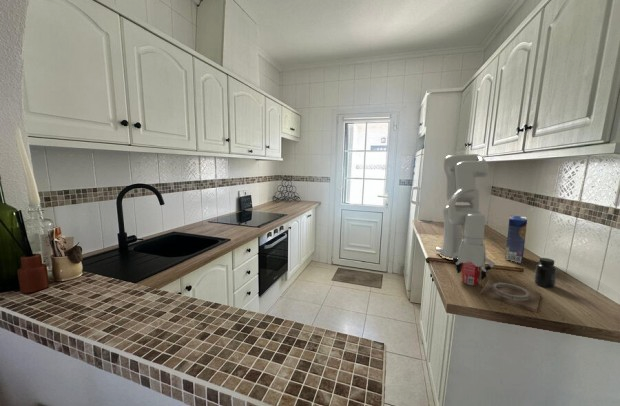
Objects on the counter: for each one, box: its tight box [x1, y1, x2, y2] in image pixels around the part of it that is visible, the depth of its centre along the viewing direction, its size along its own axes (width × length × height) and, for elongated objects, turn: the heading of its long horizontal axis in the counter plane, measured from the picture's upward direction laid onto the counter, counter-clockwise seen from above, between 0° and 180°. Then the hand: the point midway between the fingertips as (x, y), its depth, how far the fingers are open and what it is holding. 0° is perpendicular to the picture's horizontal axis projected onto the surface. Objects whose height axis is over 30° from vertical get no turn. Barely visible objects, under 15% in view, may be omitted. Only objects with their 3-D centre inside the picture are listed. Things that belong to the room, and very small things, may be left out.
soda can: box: [461, 260, 481, 286], centre depth 116 cm, size 7×7×12 cm
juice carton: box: [504, 215, 528, 264], centre depth 142 cm, size 12×8×24 cm, turn 140°
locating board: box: [479, 279, 542, 313], centre depth 105 cm, size 18×16×3 cm
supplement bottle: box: [534, 257, 557, 289], centre depth 112 cm, size 7×7×12 cm
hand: (470, 275), depth 116 cm, fingers open, 9 cm apart
